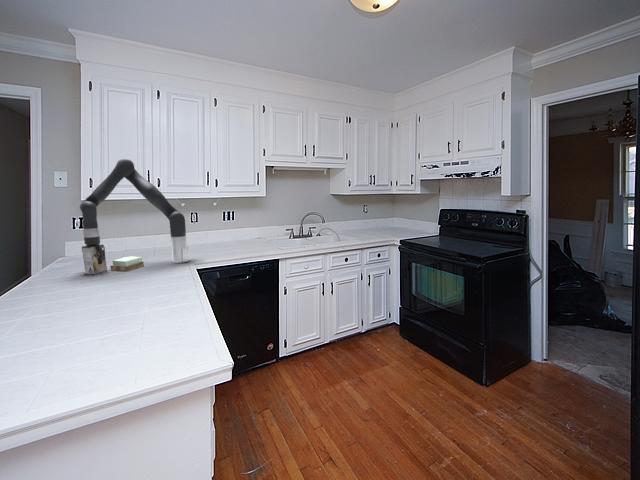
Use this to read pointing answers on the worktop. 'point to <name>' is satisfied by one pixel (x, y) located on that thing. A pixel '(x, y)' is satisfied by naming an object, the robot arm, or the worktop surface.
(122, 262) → the top slab
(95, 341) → the worktop surface
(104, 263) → the coffee box
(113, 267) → the bottom slab
